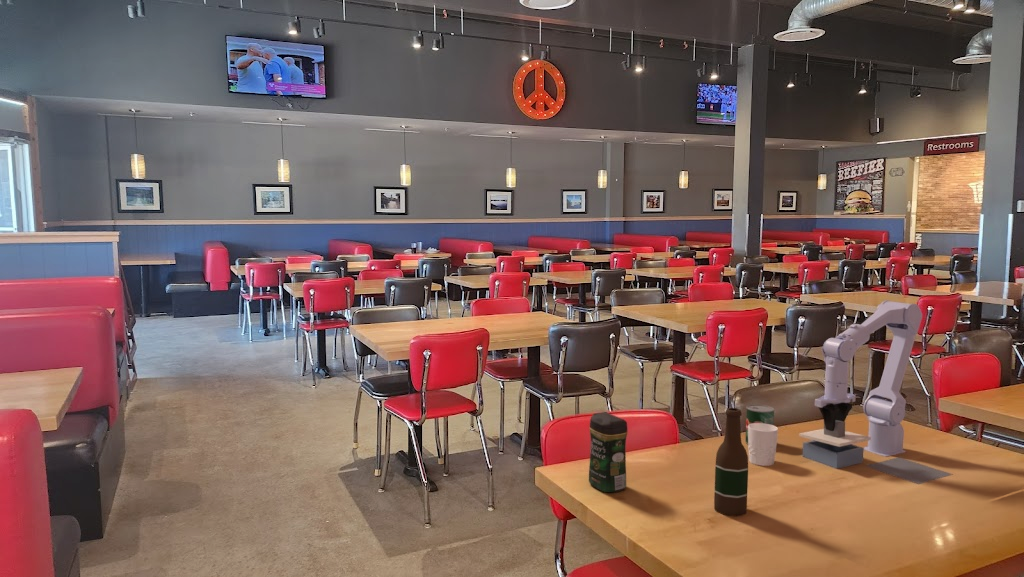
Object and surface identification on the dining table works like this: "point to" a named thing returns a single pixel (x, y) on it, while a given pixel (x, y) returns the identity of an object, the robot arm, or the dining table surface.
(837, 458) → the open box
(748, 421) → the canned tomato
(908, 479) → the mat
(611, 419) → the coffee jar
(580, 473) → the dining table surface
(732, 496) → the beer bottle
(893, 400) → the robot arm
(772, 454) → the white cup
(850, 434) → the lid
